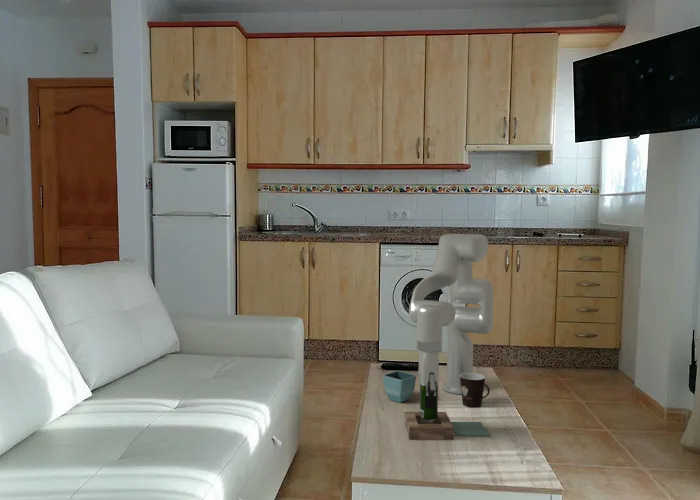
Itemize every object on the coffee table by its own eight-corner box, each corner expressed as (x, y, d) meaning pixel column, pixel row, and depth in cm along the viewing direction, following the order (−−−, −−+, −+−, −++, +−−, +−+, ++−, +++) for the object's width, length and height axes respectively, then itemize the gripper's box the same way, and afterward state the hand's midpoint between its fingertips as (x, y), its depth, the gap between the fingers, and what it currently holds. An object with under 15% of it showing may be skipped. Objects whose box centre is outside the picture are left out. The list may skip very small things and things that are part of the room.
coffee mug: (456, 400, 189) (456, 372, 188) (480, 400, 190) (480, 372, 189) (466, 412, 177) (466, 382, 177) (491, 411, 178) (491, 382, 177)
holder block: (404, 422, 168) (404, 411, 168) (445, 422, 168) (445, 411, 168) (409, 439, 155) (409, 427, 155) (453, 439, 155) (453, 428, 155)
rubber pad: (448, 423, 167) (449, 421, 167) (480, 423, 167) (480, 421, 167) (455, 436, 157) (455, 434, 157) (489, 436, 157) (489, 434, 157)
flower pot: (416, 399, 189) (417, 375, 189) (401, 406, 183) (401, 380, 183) (397, 394, 195) (397, 370, 195) (382, 400, 189) (382, 375, 189)
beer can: (428, 423, 158) (428, 384, 157) (416, 417, 162) (416, 379, 162) (441, 419, 161) (441, 380, 160) (429, 414, 165) (429, 376, 164)
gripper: (413, 339, 169) (413, 395, 170) (420, 353, 151) (420, 415, 153) (437, 339, 169) (436, 395, 170) (447, 353, 152) (446, 415, 153)
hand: (428, 404), depth 161 cm, fingers closed on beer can, 5 cm apart
